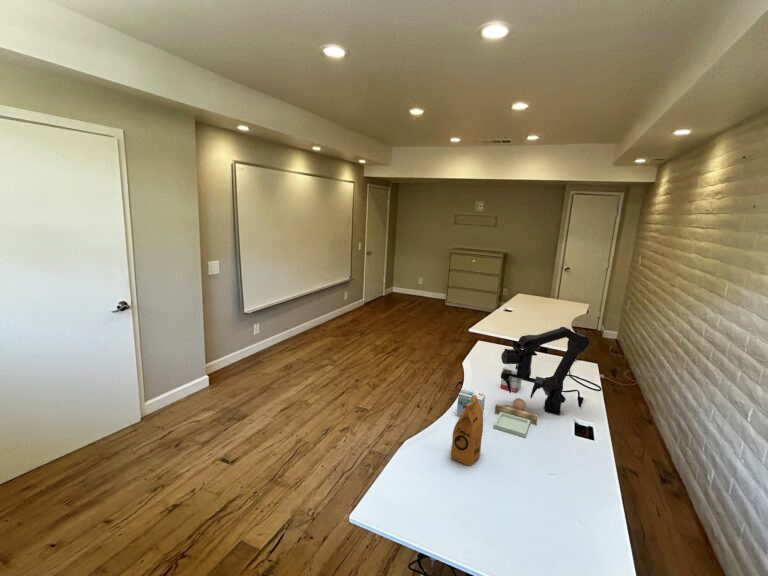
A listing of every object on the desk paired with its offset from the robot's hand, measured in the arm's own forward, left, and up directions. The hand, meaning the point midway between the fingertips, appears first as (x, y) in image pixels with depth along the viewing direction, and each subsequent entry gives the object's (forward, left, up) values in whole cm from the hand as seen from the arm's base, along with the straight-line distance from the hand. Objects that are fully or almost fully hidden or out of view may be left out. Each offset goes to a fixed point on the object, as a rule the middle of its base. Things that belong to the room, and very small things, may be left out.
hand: (520, 395), depth 177 cm
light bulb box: (+18, +18, -8) cm, 27 cm away
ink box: (+8, -24, -8) cm, 26 cm away
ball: (0, 0, -8) cm, 8 cm away
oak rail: (0, +8, -8) cm, 11 cm away
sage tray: (0, +16, -8) cm, 18 cm away
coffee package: (+11, +48, -8) cm, 50 cm away
